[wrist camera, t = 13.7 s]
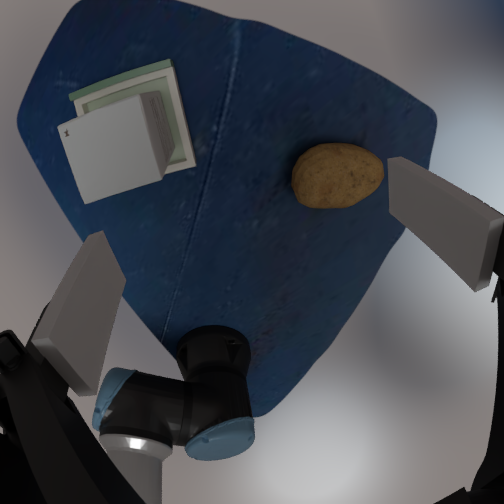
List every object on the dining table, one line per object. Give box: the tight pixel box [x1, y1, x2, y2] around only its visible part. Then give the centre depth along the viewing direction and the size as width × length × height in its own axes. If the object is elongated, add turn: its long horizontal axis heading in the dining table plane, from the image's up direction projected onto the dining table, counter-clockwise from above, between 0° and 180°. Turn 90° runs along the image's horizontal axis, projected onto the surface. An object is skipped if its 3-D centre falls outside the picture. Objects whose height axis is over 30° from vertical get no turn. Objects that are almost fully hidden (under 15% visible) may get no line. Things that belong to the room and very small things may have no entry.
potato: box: [291, 143, 384, 208], centre depth 43 cm, size 10×14×8 cm
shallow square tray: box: [69, 59, 196, 174], centre depth 38 cm, size 15×14×4 cm
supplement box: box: [58, 91, 175, 204], centre depth 33 cm, size 9×9×15 cm
